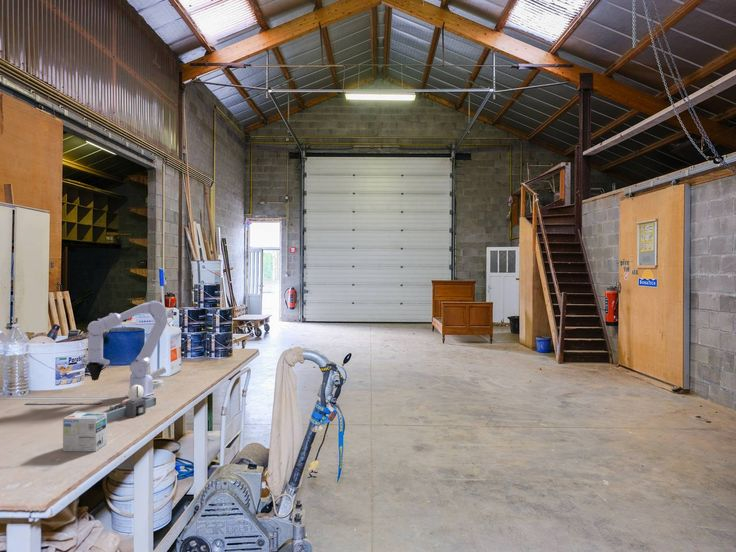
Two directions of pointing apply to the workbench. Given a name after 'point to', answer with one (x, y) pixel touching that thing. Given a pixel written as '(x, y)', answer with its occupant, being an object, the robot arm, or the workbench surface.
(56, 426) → the workbench surface
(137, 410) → the gauge plunger
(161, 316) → the robot arm
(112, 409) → the walkie-talkie
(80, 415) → the light bulb box
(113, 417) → the centring jig
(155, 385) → the wall hook
